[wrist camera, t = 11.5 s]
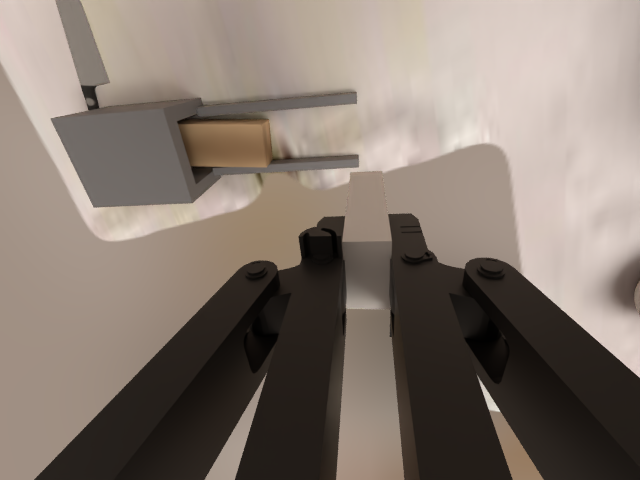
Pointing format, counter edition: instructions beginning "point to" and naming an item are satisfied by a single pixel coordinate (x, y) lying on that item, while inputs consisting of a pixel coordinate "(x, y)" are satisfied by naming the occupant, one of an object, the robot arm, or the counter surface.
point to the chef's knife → (83, 49)
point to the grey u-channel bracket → (165, 149)
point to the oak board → (227, 142)
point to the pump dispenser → (637, 297)
